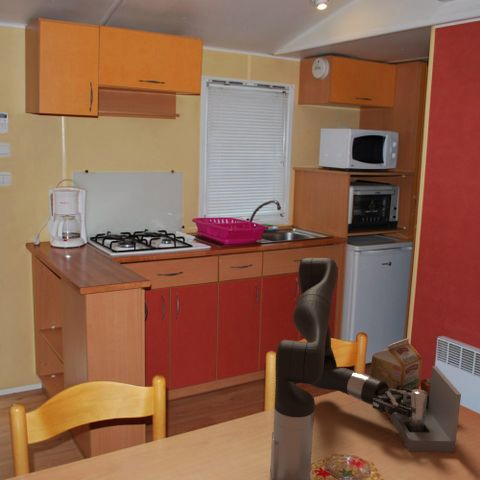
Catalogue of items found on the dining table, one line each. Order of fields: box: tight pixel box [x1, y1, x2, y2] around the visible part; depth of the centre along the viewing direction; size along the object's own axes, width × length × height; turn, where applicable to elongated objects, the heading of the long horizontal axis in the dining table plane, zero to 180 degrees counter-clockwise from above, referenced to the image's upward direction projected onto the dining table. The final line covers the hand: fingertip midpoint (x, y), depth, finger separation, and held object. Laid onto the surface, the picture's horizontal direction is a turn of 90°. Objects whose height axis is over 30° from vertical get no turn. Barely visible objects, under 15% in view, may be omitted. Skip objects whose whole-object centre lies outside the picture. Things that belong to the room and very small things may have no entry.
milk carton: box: [370, 338, 423, 408], centre depth 181 cm, size 11×11×19 cm
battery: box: [419, 378, 431, 409], centre depth 176 cm, size 4×7×10 cm, turn 100°
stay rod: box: [408, 388, 428, 432], centre depth 160 cm, size 4×4×13 cm
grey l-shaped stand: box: [389, 365, 462, 453], centre depth 161 cm, size 12×18×16 cm, turn 1°
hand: (419, 408), depth 159 cm, fingers open, 8 cm apart
